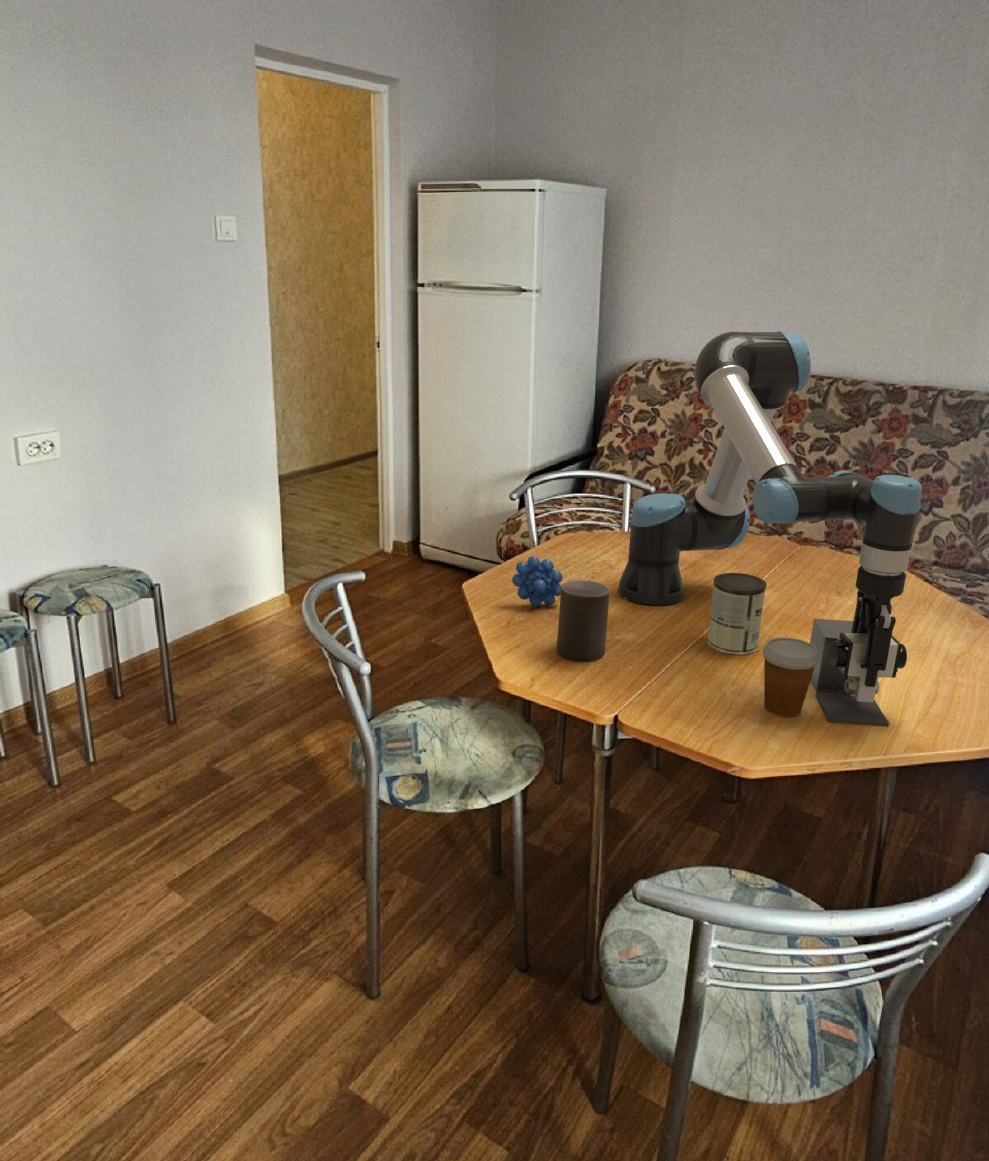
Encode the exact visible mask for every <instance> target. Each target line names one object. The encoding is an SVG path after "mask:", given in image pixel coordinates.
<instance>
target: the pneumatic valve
mask: <svg viewBox="0 0 989 1161" xmlns="http://www.w3.org/2000/svg"><path fill="white" fill-rule="evenodd" d="M867 635H868V634H866V633H840V637H839V638H838V641H839V642H835V641H834V642H832V644H831V646H830V652H829V656H830V662H831V664H832V666H834V667H837V668H838V669H839V671H840V672H841V673H842V675H843V676H848V677H849V678H850V679H847V680H846V681H845V691H846V692H847V693H851V694H850V695H851V697H852V698H854V699H856V697H857V692H858V686H859V681H860V677H861V673H862V668H861V667H860V664H864V665H865V658H866V651H867V645H868V644H867ZM906 648H907V647H906V646H905V644H904V643H901V642H900V641H898V640H897V638H896V637H894V636H893V635H892V637H891V642H890V648H889V653H888V659H887V664H886V669H885V671H881V670H879V675H878V678H889V679H890V678H893V679H894V678H895V679H896V678H897V673H899V669H905V666H906V664H907V660H908V652H907V649H906ZM879 691H880V683H879V681H877V686H876V691H875V695H877V694H878V693H879ZM875 698H876V696H874V699H875Z"/></svg>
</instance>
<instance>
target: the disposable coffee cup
mask: <svg viewBox="0 0 989 1161" xmlns="http://www.w3.org/2000/svg"><path fill="white" fill-rule="evenodd" d="M762 654H763V655H762V656H763V658H764V659H763V660H764V663H763V664H764V665H763V666H764V670H763V672H764V673H763V674H764V676H763V677H764V681H763V682H764V685H763V686H764V688H763V690H764V691H763V692H764V694H763V696H764V697H763V698H764V700H763V703H764V705H763V706H764V709H765V710H766V711H767V712H768V713H770V714H773V716H778V717H783V718H794V717H797V716H800V715H801V713H802V710H803V705H804V703H805V700H806V697H807V694H808V690H809V686H810V684H811V678H812V674H813V671H814V668H815V666H816V665H817V663H818V662H819V659H820V658H819V655H818V650H817V648H816V647H815V646H813V645H812V644H810V642H808V641H806V640H802V639H799V638H794V637H793V638H792V637H774V638H770V639H769V640H767V641H766V643H765V644H764V647H763V648H762Z"/></svg>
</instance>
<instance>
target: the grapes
mask: <svg viewBox="0 0 989 1161" xmlns="http://www.w3.org/2000/svg"><path fill="white" fill-rule="evenodd" d="M554 568H555V566H554V563H553V562H552V561H551V560H550V559H547V558H546V559H543V560H540V559H539V557H538V556H534V555H532V556H529V557H528V558H527V560H526V562H524V561H520V562H517V564H516V566H515V570H516V572H517V573H515V574H514V575H512V579H511V580H512V581H511V582H512V584H513V585H514V586H515V587H517V588H518V589H517V592H516V593H517V596H518V597H519V598H520V599H521V600H528V601H529V604H531V606H533V607H540V606H541V605H542V603H543V604H545V605H547V606H552V605H553V604H555V601H556V598H555V597H559V596H561V586H562V584H560V583H561V582H562V581H563V578H564V577H563V573H561V571H560V570H558V569H554Z"/></svg>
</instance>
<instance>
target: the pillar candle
mask: <svg viewBox="0 0 989 1161" xmlns="http://www.w3.org/2000/svg"><path fill="white" fill-rule="evenodd" d="M610 591H611V589H610V587H609V586H607V585H606V584H603V583H600V582H598V581H592V580H584V579H581V580H576V579H575V580H570V581H566V582H564V583H562V584H561V595H560V597H559V598H560V599H559V611H558V625H557V626H558V627H557V635H556V636H557V639H556V651H557V654H559V656H561V657H562V658H565V659H567V660H571V661H574V662H575V661H576V662H581V661H586V662H592V661H591V660H594V661H596V659H598V660H600V659H602V658H603V657H604V656H605V652H606V641H607V630H608V617H609V607H610V606H609V604H610V594H611V592H610ZM603 655H604V656H603ZM602 656H603V657H602ZM601 657H602V658H601Z"/></svg>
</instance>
